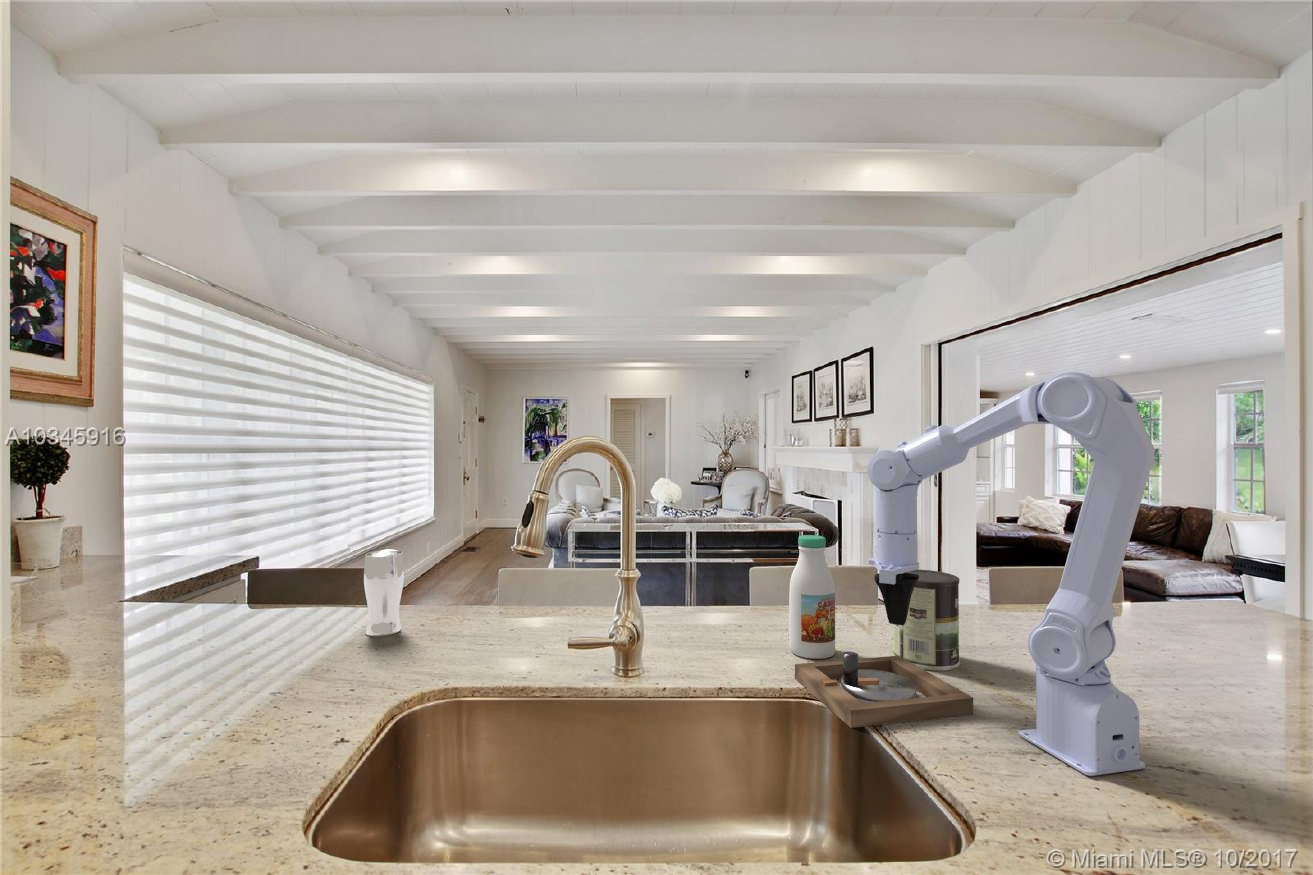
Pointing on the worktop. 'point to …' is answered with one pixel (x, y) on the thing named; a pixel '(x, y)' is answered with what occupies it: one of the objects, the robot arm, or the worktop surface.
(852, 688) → the dial
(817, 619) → the milk bottle
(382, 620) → the beer glass
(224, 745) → the worktop surface
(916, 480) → the robot arm
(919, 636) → the coffee can
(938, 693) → the frame
